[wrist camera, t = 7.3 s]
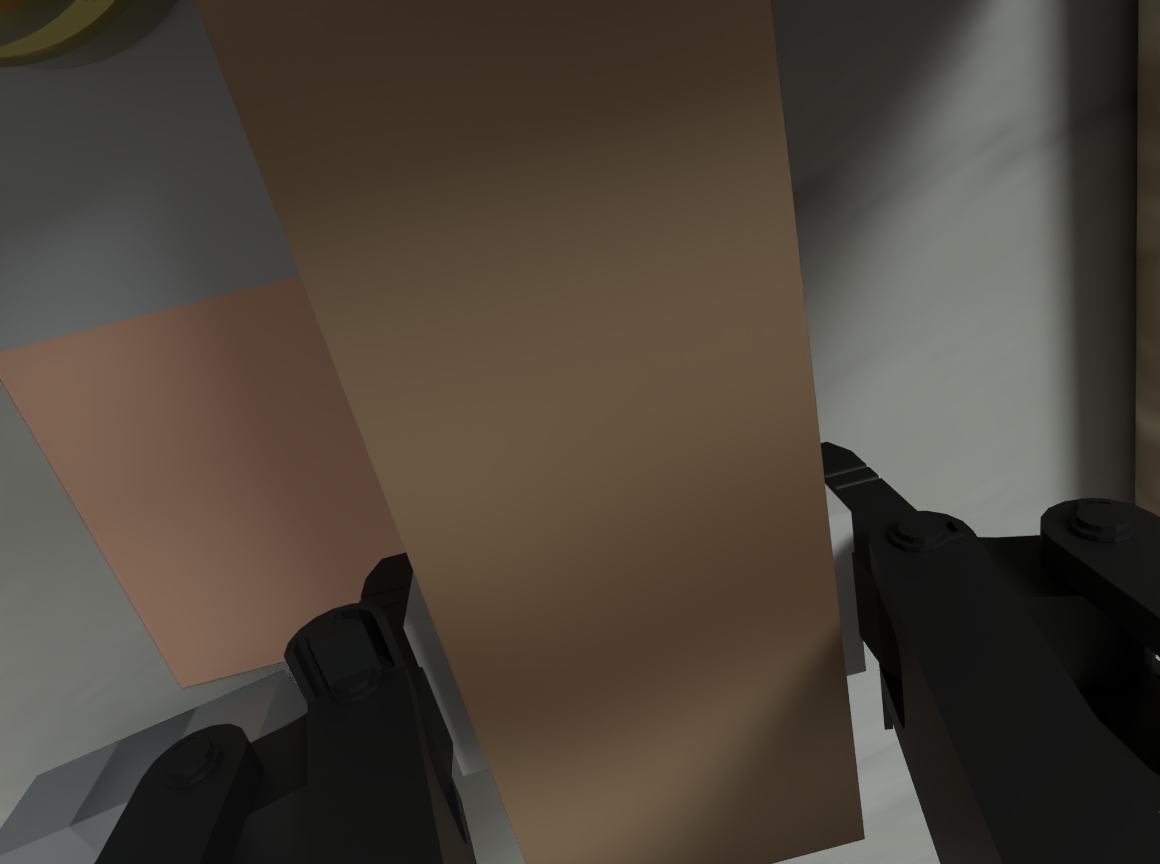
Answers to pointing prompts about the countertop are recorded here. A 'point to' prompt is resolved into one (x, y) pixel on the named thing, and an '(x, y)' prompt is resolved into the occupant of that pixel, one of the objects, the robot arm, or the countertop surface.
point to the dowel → (1148, 261)
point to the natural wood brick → (579, 393)
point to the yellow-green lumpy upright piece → (73, 30)
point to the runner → (178, 355)
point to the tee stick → (127, 776)
